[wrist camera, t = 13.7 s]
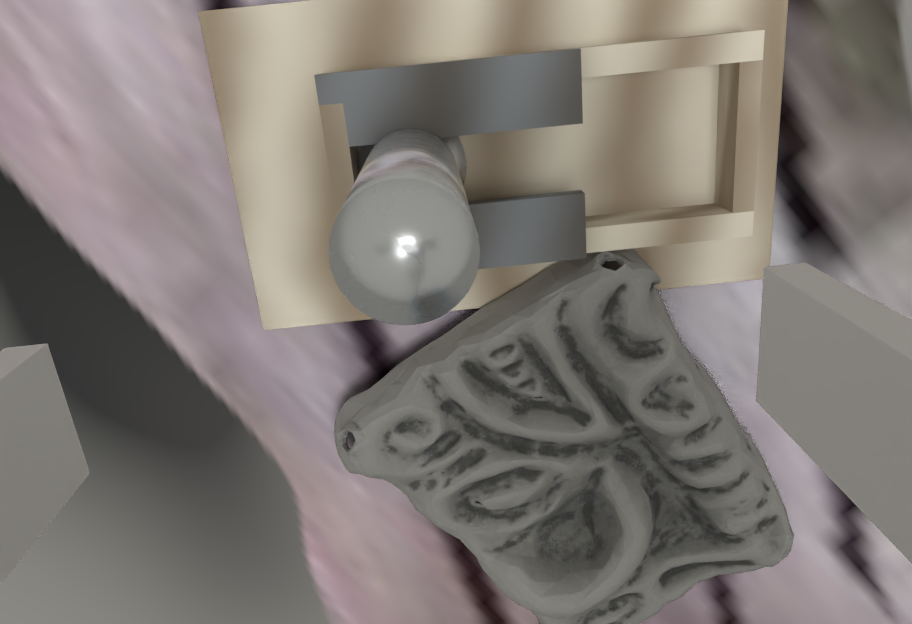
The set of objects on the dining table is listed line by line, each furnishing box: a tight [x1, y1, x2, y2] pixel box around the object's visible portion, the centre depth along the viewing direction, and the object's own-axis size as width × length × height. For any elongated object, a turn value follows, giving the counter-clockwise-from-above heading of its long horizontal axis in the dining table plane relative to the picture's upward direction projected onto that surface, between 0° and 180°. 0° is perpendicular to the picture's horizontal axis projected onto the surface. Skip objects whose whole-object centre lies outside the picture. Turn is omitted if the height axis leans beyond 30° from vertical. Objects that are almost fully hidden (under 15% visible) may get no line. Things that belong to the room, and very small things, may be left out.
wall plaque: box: [334, 248, 794, 624], centre depth 38 cm, size 23×19×4 cm
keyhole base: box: [198, 0, 788, 330], centre depth 32 cm, size 26×15×4 cm, turn 95°
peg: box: [328, 129, 480, 325], centre depth 26 cm, size 5×5×16 cm
